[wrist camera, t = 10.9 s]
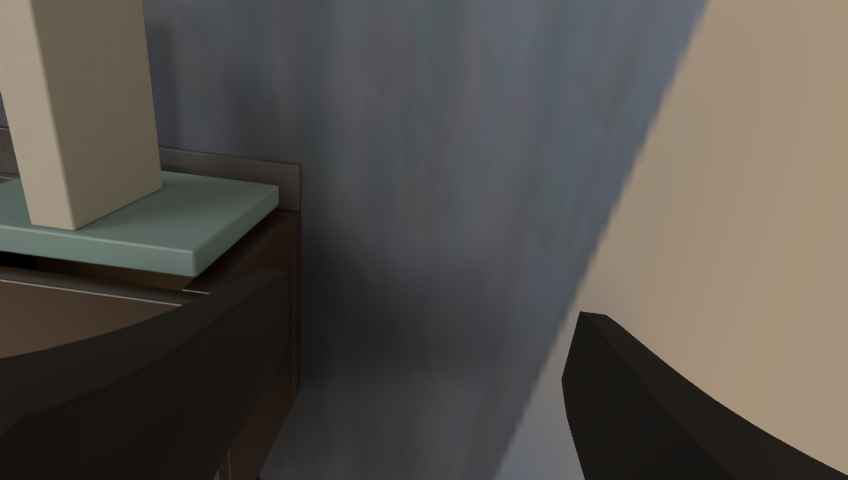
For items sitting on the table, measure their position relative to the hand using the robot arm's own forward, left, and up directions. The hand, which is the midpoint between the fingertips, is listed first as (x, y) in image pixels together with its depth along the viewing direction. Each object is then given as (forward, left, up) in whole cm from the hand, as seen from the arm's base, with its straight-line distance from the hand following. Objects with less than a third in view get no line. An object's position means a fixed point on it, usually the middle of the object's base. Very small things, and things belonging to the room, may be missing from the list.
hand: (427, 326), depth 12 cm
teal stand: (+3, +10, -7) cm, 13 cm away
